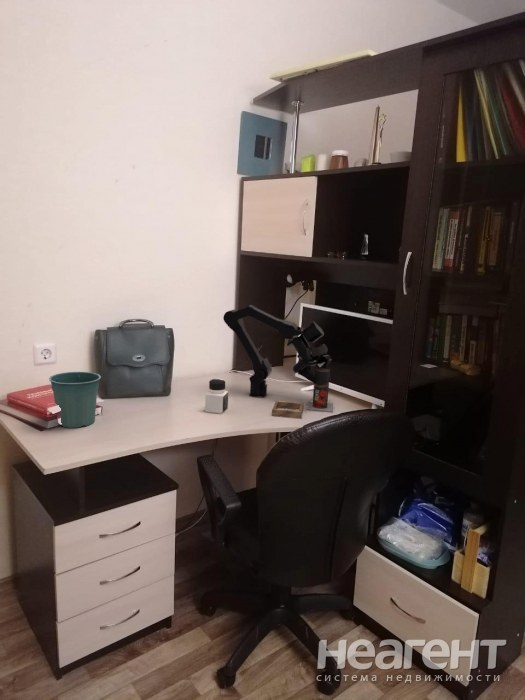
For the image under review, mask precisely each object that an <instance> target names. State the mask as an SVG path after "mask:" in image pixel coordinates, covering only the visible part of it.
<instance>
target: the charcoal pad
mask: <svg viewBox="0 0 525 700" xmlns="http://www.w3.org/2000/svg"><path fill="white" fill-rule="evenodd" d="M312 405H313V401H308V403H307V409H306V410H307V411H311V410H312V412H313V411H314V412H321V413H323V412H325V413H334V403H329V402H328V404H327V408H324V409H319V408H315V407H313V406H312Z"/></svg>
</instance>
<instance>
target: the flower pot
mask: <svg viewBox="0 0 525 700" xmlns="http://www.w3.org/2000/svg"><path fill="white" fill-rule="evenodd" d="M101 378H102V376H101V375H100V374H99V373H97V372H96V373H95V372H90V371H89V372H88V371H67V372H60V373H55V374H53V375H51V376H49V377H48V379H49V382H50V383H51V384H50V385H51V390H52V391H53V399H54V404H55V403H56V404H57V405H59V407H60V408H61V411H60V416H61V423H62V426H63V428H67V427H68V428H69V429H74V428H76V429H77V428H82V427H83V426H85V427H87V426H91V425H92V424H94V423H95V421H96V410H97V409H96V408H97V398H98V389H99V386H100V380H101ZM62 426H61V427H62ZM68 428H67V429H68Z"/></svg>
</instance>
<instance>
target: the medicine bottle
mask: <svg viewBox="0 0 525 700" xmlns="http://www.w3.org/2000/svg"><path fill="white" fill-rule="evenodd" d="M208 382H209V386H208V390H209V391H207V392H205V396H204V397H205V398H204V399H205V400H204V401H205V402H204V412H205V413H212V414H213V413H214V414H220V415H221V414H225V412H226V411H227V410H228V408H229V391H228V390H226V381H225V380H224V379H222V378H213V379H210V380H209V381H208Z"/></svg>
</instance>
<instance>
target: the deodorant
mask: <svg viewBox="0 0 525 700" xmlns="http://www.w3.org/2000/svg"><path fill="white" fill-rule="evenodd" d="M330 376H331V370H330V368H329V369H325V368H318V367H316V368H315V369H314V377H315V379H316V381H317V383H316V384H314V383H313V391H312V392H313V393H312V395H313V396H312V402H313V405H312V406H313V407H315V408H319V409H324V408H327V404H328V403H329V387H330V380H329V377H330Z"/></svg>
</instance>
